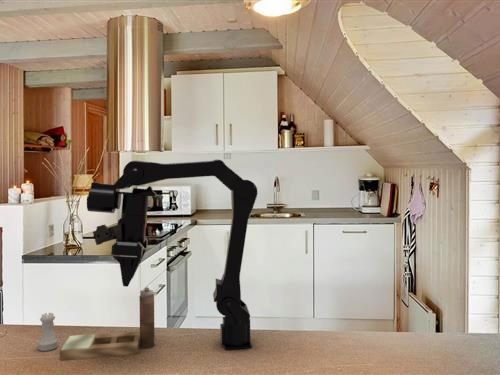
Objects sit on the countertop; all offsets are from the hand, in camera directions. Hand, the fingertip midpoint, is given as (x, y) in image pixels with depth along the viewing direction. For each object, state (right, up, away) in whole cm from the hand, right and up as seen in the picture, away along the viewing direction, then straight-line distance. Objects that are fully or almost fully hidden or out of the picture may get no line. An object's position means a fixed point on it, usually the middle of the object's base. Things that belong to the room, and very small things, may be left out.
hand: (128, 282), depth 98 cm
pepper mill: (+4, -16, +3) cm, 17 cm away
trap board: (-6, -16, +1) cm, 17 cm away
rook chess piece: (-20, -16, +2) cm, 26 cm away
